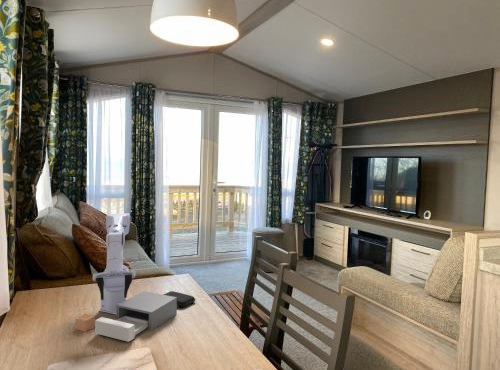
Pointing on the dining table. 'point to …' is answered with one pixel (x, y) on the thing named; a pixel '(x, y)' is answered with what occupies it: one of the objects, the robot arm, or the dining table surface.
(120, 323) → the tray
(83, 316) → the block
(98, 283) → the robot arm
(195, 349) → the dining table surface
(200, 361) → the dining table surface
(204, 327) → the dining table surface
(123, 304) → the housing
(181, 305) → the carrying case or bag
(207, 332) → the dining table surface
